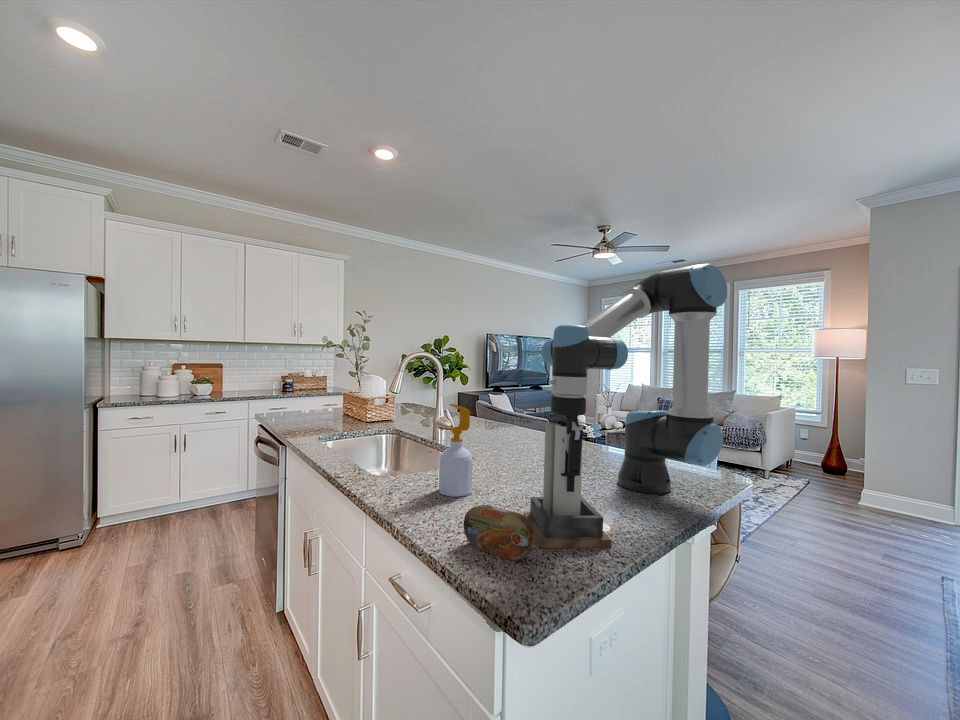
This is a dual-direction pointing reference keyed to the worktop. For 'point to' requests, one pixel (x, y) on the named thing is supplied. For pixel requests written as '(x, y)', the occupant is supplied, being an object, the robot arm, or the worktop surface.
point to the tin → (499, 532)
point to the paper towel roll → (559, 474)
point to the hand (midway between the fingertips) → (565, 501)
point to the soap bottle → (456, 461)
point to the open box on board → (567, 527)
